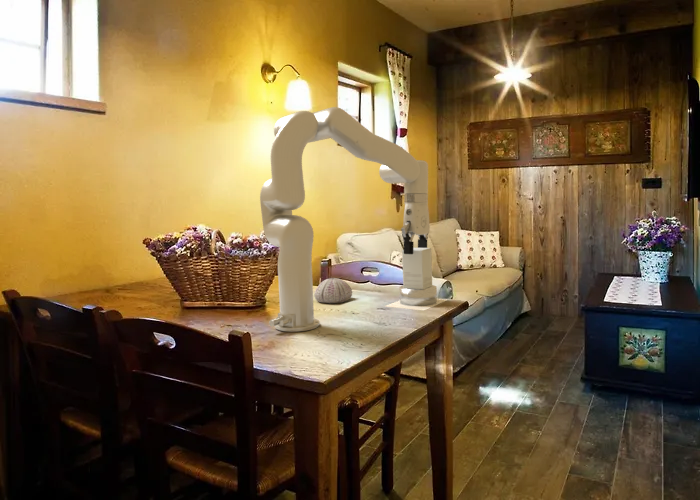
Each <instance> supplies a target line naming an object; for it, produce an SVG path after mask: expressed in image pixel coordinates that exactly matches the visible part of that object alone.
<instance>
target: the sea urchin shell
mask: <svg viewBox="0 0 700 500" xmlns="http://www.w3.org/2000/svg"><path fill="white" fill-rule="evenodd" d="M352 296H353V289H352V288H351V286H350V285H349V283H347V282H346V281H344V280H343V279H341V278H338V277H337V278H336V277H330V278H327V279H324V280H322V281H321V282H320V283H319V284H318V286H317V288H316V289H315V291H314V293H313V297H314V299H315V300H316V301H317V302H319V303H322V304H337V303H339V304H340V303H344V302H347V301H350V300H351V298H352Z"/></svg>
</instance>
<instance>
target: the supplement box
mask: <svg viewBox="0 0 700 500" xmlns="http://www.w3.org/2000/svg"><path fill="white" fill-rule="evenodd" d="M401 253H402V254H401V256H402V257H401V258H402V283H403V285H402V286H403V288H412V289H425V288H428V287H430V286H432V285H433V266H432V265H433V263H432V261H433V259H432V247H427V248H418V247H413V254H404V249H402V250H401Z"/></svg>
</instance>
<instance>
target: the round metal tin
mask: <svg viewBox="0 0 700 500" xmlns="http://www.w3.org/2000/svg"><path fill="white" fill-rule="evenodd" d="M437 288H438V287H437V286H436V285H433V284H432V286H430V287H428V288H425V289H412V288H403V285H401V286H399V300H400V304H403V305H407V306H429V305H434V304H436V303H437V299H438V296H437V294H438V293H437V291H438V289H437Z"/></svg>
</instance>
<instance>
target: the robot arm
mask: <svg viewBox="0 0 700 500" xmlns="http://www.w3.org/2000/svg"><path fill="white" fill-rule="evenodd" d="M273 127H274V128H273V134H274V140H273V143H272V145H271V150H270V168H271V169H270V171H271V178H269V179H268V180H265V182H264V183H263V184H262V187H261V189H260V194H259V201H260V202H259V203H260V212H261V220H262V228H263V233H264V237H265V239H266V241H268V243H269V244H270V245H272V246H274V247H277V248H279V252H278V256H277V276H278V277H277V279H278V281H277V282H278V297H279V298H278V299H279V302H278V303H279V312H278V313H277V317H276V318H272V319H270V320H269V321H268V325H269V327H272V328H273V327H274V328H275V329H276V330H277V331H281V332H287V333H292V332H293V333H294V332H297V333H298V332H305V331H310V330H311V331H312V330H314V329H316V328H318V327H320V320H318V319H317V318H315V314H314V313H315V312H314V311H315V310H314V290H313V289H314V287H313V286H314V285H313V266H312V264H313V262H312V258H313V256H312V255H313V246H314V245H313V244H314V238H315V237H314V228H313V226H312V224H311V223H310V221H309V220H308V219H306V218H305V217H303V216H301V215H297V214H293V211H294V210H295V211H296V210H297V209H299V208H301V207H302V206H303V204H304V203H305V200H306V191H305V182H304V173H303V172H304V171H303V154H304V150H305V148H306V147H307V144H308V143H314V142H318V141H323V140H328V139H332V140H333V141H334V142H335V143H337V144H338V145H340V146H341V148H344V149H345V150H347V152H348V153H350V154H351V155H352V156H354V157H355V158H358V159H361V160H364V161H366V162H367V161H368V162H373V163H378V164H380V167H379V169H378V170H379V171H378V172H379V173H378V174H379V177H380V179H381V180H383V182H385V183H388V184H391V185H392V184H403V185H404V186H403V188H404V189H403V194H404V196H403V198H404V200H403V201H404V203H403V204H404V208H403V209H404V211H403V225H402V227H400V231H401V237H402V241H403V250H404V254H413V248H414V247H415V246H414V241H413V240H414V236H417V237H418V239H417V248H428V239H429V236H428V235H429V233H430V231H431V230H430V212H429V205H428V204H429V200H428V198H429V163H428V162H427V161H425V160H417V159H416V158H415V157H414V156H413V154H411V153H409V152H408V151H407V150H406V149H404V148H403V147H401V146H400V145H398V144H396V143H394V142H392V141H390V140H388V139H385V138H383V137H381V136H379V135H377V134H375V133H373V132H372V131H370V130H369V129H368V128H367V127H365V126H364V125H362V123H360V122H359V121H358V120H357V119H355V118H354V117H353V116H352V115H351V114H349V113H348V112H347V111H346V110H344V109H343V108H341V107H338V106H332V107H327V108H325V109H322V110H318V111H313V112H311V111H308V110H300V111H296V112H293V113H290V114H288V115H285V116H282V117H280V118H279V119H278V120H277V121H276V122H275V124H274V126H273Z"/></svg>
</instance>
